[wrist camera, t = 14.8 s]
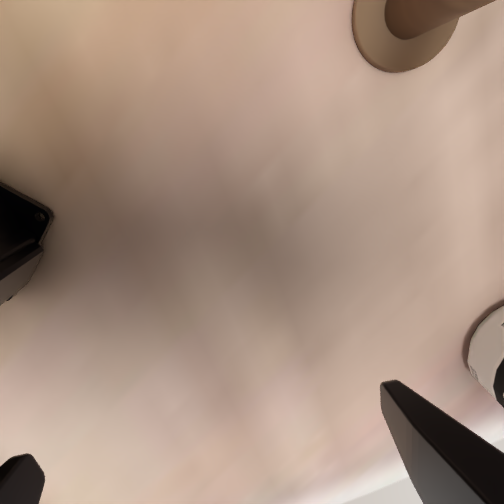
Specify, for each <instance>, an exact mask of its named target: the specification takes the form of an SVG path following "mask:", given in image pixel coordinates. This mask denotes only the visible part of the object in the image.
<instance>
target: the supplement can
mask: <svg viewBox="0 0 504 504" xmlns="http://www.w3.org/2000/svg"><path fill="white" fill-rule="evenodd" d="M467 362H468V365H469V368H470V371H471V375H472V376H473V377H474V378H475V379H476V380H477V381H478V382H479V383H480V384H481V385H482V386H483V387H484V388H485V389H486V390H487V391H488V392H489V393H490V394H491V395H492V396H493V397H494V398H495V399H496V400H497V401H498V402H499V403H500V404H501V405H502V406H503V407H504V305H503V306H502V307H500V308H498V309H497V310H495V311H493V312H492V313H491V314H490V315H489V316H488V317H487V318H486V319H485V320H484V321H483V322H482V323H481V324H480V325H479V326H478V327H477V329H476V331H475V333H474V335H473V336H472V338H471V341H470V347H469V355H468V361H467Z"/></svg>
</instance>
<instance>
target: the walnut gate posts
mask: <svg viewBox="0 0 504 504" xmlns="http://www.w3.org/2000/svg"><path fill="white" fill-rule="evenodd" d="M493 1H495V0H354V5H353V12H352V27H353V34H354V38H355V41H356V44H357V46H358V48H359V50H360V52H361V54H362V55H363V57H364V58H365V59H366V60H367V61H368V62H369V63H370V64H371V65H373V66H374V67H376V68H378V69H380V70H383V71H386V72H404V71H407V70H411V69H414V68H417V67H419V66H422V65H424V64H425V63H427V62H429V61H430V60H431V59H433V58H434V57H435V56H436V55H437V54H438V53H439V52H440V51H441V50H442V49H443V48H444V46H445V45H446V44H447V42H448V41H449V39H450V38H451V36H452V34H453V32H454V30H455V28H456V25H457V23H458V20H459V17H461V16H463V15H465V14H467V13H469V12H471V11H474V10H476V9H478V8H480V7H482V6H485V5H487V4H489V3H491V2H493Z"/></svg>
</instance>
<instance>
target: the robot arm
mask: <svg viewBox="0 0 504 504" xmlns="http://www.w3.org/2000/svg"><path fill="white" fill-rule="evenodd" d="M39 212H40V213H42V214H43V215H44V217H45V220H44V219H41V218H40V217H39ZM52 220H53V213H52V212H51V210H50V209H49V208H47V207H45V206H44V205H42V204H40V203H38V202H36V201H34V200H33V199H31V198H29V197H27V196H25V195H23V194H21V193H20V192H18V191H16V190H14V189H12V188H10V187H9V186H7V185H5V184H3V183H1V182H0V305H1V304H3V303H4V302H5V301H8V300H10V299H11V298H13V297H14V296H15V295H16V293H17V291H19V290H20V289H21V288H22V287H24V286H25V285H26V284H27V283H28V282H29V280H30V278H31V276H32V274H33V272H34V270H35V268H36V266H37V264H38V262H39V260H40V258H41V256H42V254H43V252H44V249H43V246H42V245H41V243H42V241H43V239H44V236H45V234H46V232H47V230H48V228H49V226H50V224H51V222H52ZM380 396H381V409H382V413H383V416H384V418H385V420H386V423H387V425H388V427H389V430H390V432H391V434H392V437H393V439H394V442H395V444H396V446H397V449H398V451H399V453H400V456H401V458H402V460H403V463H404V465H405V467H406V470H407V472H408V474H409V477H410V479H411V481H412V483H413V485H414V487H415V489H416V491H417V493H418V494H419V496H420V498H421V500H422V502H423V504H504V453H503V452H501V451H500V450H498V449H497V448H495V447H494V446H493V445H491V444H490V443H488V442H487V441H485V440H484V439H482V438H481V437H480V436H478V435H477V434H475V433H474V432H472V431H471V430H469V429H468V428H467V427H465V426H464V425H462V424H461V423H459V422H458V421H456V420H455V419H454V418H452V417H451V416H449V415H448V414H446V413H445V412H443V411H442V410H441V409H439V408H438V407H436V406H435V405H433V404H432V403H430V402H429V401H428V400H426V399H425V398H423V397H422V396H420V395H419V394H417V393H416V392H414V391H413V390H412V389H410V388H409V387H407V386H406V385H404V384H403V383H401V382H400V381H398V380H390V381H385V382H382V383H381V385H380ZM44 483H45V475H44V472H43V471H42V469H41V468H40V466H39V465H38V463H37V462H36V460H35V459H34V457H33V456H32V455H31V454H22V455H17V456H13V457H11V458H10V459H8V460H7V461H6V462H5V463H4V464H3V465H2V466H0V504H39V501H40V497H41V494H42V490H43V487H44Z"/></svg>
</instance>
